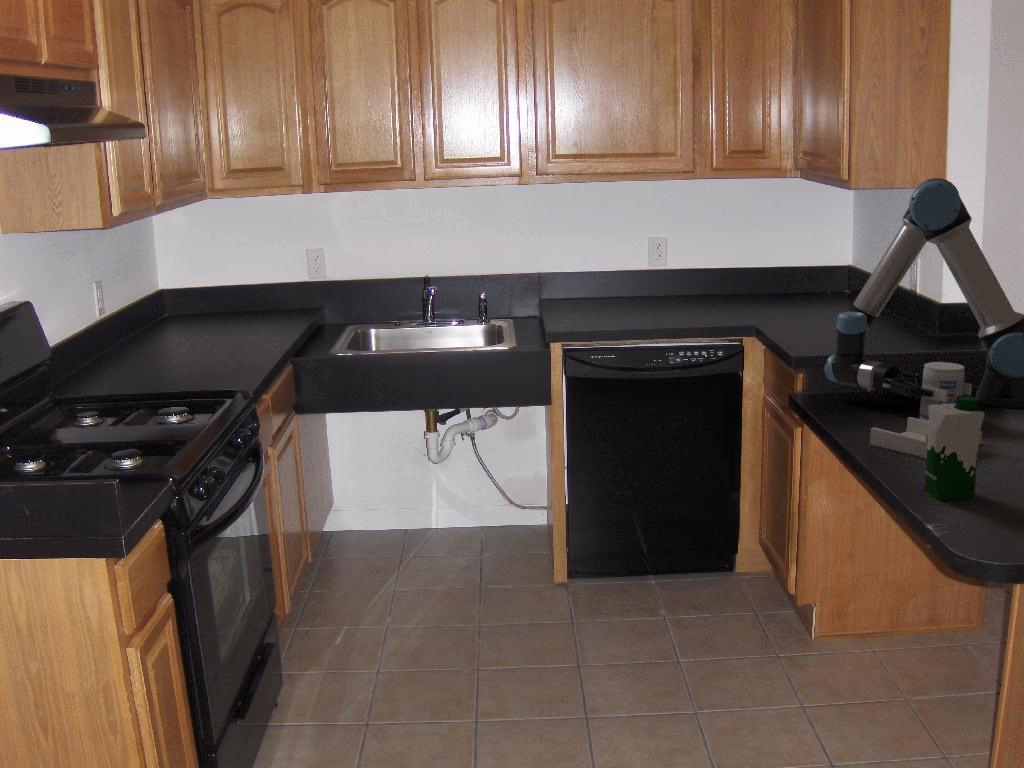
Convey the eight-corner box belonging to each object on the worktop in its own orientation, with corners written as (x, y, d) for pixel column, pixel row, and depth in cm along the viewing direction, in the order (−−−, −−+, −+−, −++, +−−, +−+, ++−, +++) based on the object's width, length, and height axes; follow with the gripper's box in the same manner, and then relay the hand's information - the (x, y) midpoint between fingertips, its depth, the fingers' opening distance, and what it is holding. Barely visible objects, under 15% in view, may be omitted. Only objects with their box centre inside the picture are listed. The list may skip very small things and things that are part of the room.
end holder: (869, 444, 243) (871, 419, 241) (909, 432, 251) (911, 409, 250) (928, 460, 231) (930, 434, 229) (968, 447, 239) (970, 422, 238)
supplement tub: (941, 430, 253) (946, 371, 250) (910, 421, 261) (914, 364, 258) (968, 424, 257) (973, 366, 254) (937, 415, 266) (942, 359, 262)
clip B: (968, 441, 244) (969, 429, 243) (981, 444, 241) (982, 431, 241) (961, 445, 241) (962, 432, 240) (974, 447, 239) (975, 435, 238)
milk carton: (981, 501, 205) (990, 403, 200) (936, 503, 204) (944, 404, 200) (959, 486, 214) (967, 392, 209) (916, 488, 213) (924, 393, 208)
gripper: (904, 384, 279) (982, 400, 261) (852, 397, 266) (930, 415, 248) (906, 357, 277) (985, 371, 259) (854, 369, 265) (933, 385, 247)
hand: (958, 393), depth 254 cm, fingers closed on supplement tub, 9 cm apart
